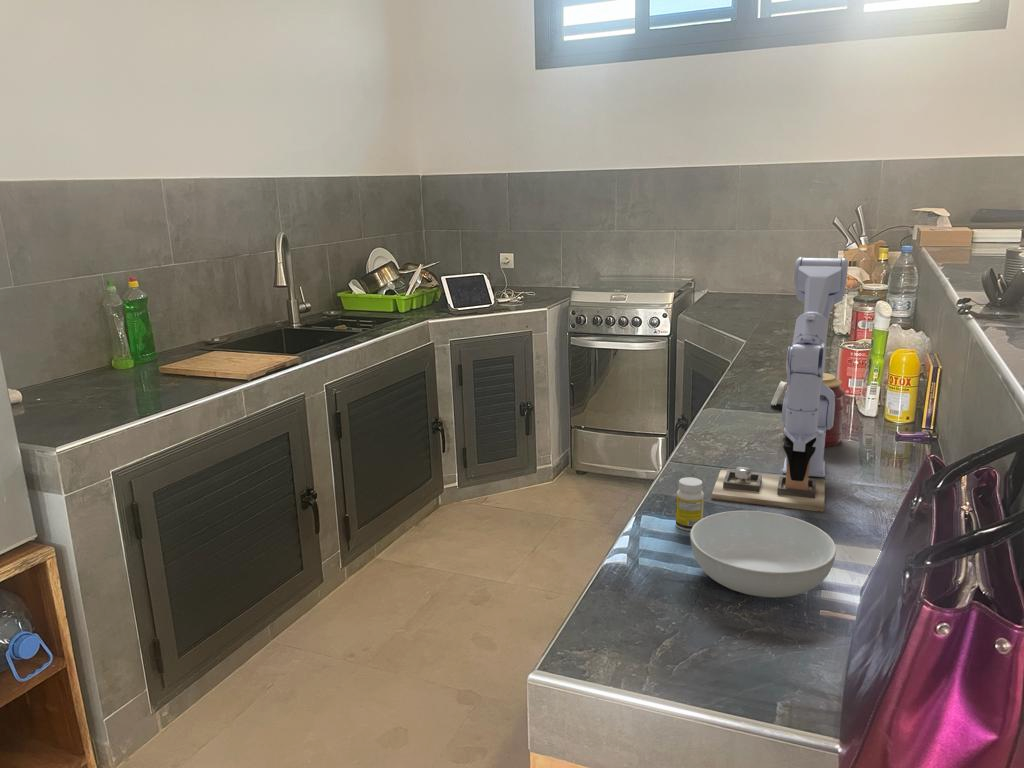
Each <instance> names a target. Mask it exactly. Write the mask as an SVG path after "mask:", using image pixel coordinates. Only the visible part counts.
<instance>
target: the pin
mask: <svg viewBox="0 0 1024 768" xmlns="http://www.w3.org/2000/svg"><path fill="white" fill-rule="evenodd" d="M734 471H735V482H736V483H745V484H751V473H752V469H751V468H750V467H745V466H738V467H736V468H735V470H734Z"/></svg>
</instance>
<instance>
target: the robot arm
mask: <svg viewBox="0 0 1024 768" xmlns="http://www.w3.org/2000/svg"><path fill="white" fill-rule="evenodd" d="M794 265H795V266H794V272H793V273H794V274H793V283H794V291H795V295H796V300H798V301H800V302H802V303H803V304H804V306H803V307H804V308H803V313H801V314H800V315H799V316H798V317H797V318H796V319H795V321H796V322H795V327H794V331H793V336H792V337H793V338H792V343H791V346H790V345H789V346H788V347H787V348H788V349H787V353H786V362H785V366H786V367H785V369H786V379H787V383H788V388H787V390H786V391H785V390H784V391H785V392H784V398H783V402H782V407H781V408H782V410H781V423H783V425H785V428H784V434H785V439H786V440H785V439H784V440H785V441H786V442H783V445H782V446H783V450H784V452H785V454H786V457H785V458H784V463H783V469H782V473H783V474H786V469H787V457H788V461H789V468H790V476H791V480H795V481H803V480H804V477H805V474H806V470H807V466H808V463H809V461H810V466H809V477H817V478H825V476H826V475H825V473H826V472H825V470H826V461H825V460H824V457H825V447H824V446H825V434H826V429H827V430H830V429H831V428H832V427H833V421H834V412H835V394H834V392H833V391H832V390H831V389H830V388H829V387H828V386H826V385H825V384H824V383H823V382H822V381H823V373H825V370H826V369H825V368H826V361H827V350H826V349H827V339H828V330H829V322H830V321H829V320H830V315H831V311H832V310H833V307H834V305H836V304H838V303H840V302H842V301H843V300H844V296H845V295H846V287H847V279H848V270H849V269H848V268H849V261H848V259H846V257H842V258H837V257H836V258H835V257H832V258H831V257H829V258H828V257H822V258H821V257H802V256H799V257H798V258H797V259H796V261H795V264H794ZM820 398H823V399H820Z"/></svg>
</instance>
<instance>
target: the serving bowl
mask: <svg viewBox="0 0 1024 768" xmlns="http://www.w3.org/2000/svg"><path fill="white" fill-rule="evenodd" d="M689 540H690V546H691V551H692V554H693V556H694V559H695V561H696V563H697V565H698V566H699V567H700V568H701V569H702V571H703V572H704V573H705V574H706V575H707V576H708V577H709V578H711V579H712V580H713V581H715V582H717V583H718V584H719V585H721V586H724V587H726V588H728V589H730V590H733V591H736V592H738V593H741V594H745V595H750V596H756V597H761V598H787V597H793V596H797V595H801V594H804V593H807V592H809V591H810V590H813V589H815V588H816V587H818V586H819V585H820V584H821V583H822V582H823V581H825V579H826V578H827V577H828V576H829V574H830V573H831V571H832V568H833V565H834V564H835V561H836V555H837V546H836V543H835V542H834V540H833V538H832V537H831V536H830V535H829V534H828V533H827V532H825V531H823V529H821V528H819V527H817V526H816V525H814V524H813V523H810V522H807V521H805V520H803V519H800V518H796V517H792V516H789V515H785V514H780V513H776V512H775V513H774V512H769V511H768V512H767V511H760V510H732V511H731V510H729V511H723V512H718V513H713V514H711V515H707V516H705V517H703V519H701V520H699V521H698V522H697V523H696V524H695V525H694V526H693V527H692V529H691V531H689Z"/></svg>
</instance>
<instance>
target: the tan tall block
mask: <svg viewBox="0 0 1024 768" xmlns="http://www.w3.org/2000/svg"><path fill="white" fill-rule="evenodd" d="M786 457H787V456H786ZM809 466H810V461H809V463H808V466H807V470H806V474H805V477H804V480H803V481H795V480H791V476H790V468H789V461H788V457H787V469H786V473H785V476H786V484H785V488H790V489H799V490H808V479H810V478H809V477H810V476H809Z"/></svg>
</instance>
